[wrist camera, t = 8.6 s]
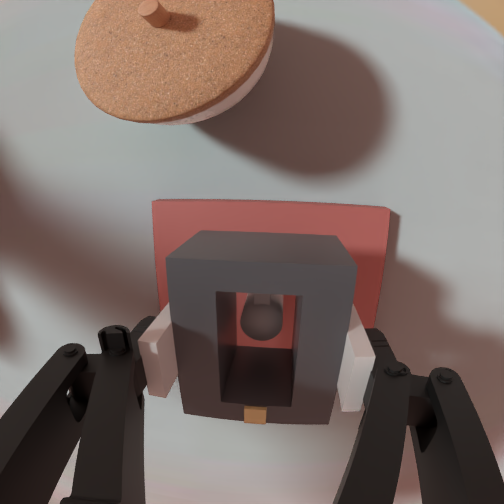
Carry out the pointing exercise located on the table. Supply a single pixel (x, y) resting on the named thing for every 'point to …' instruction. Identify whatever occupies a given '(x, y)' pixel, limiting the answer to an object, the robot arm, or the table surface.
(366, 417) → the robot arm
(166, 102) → the lidded jar
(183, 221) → the plate
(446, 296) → the table surface
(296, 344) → the hollow frame block
